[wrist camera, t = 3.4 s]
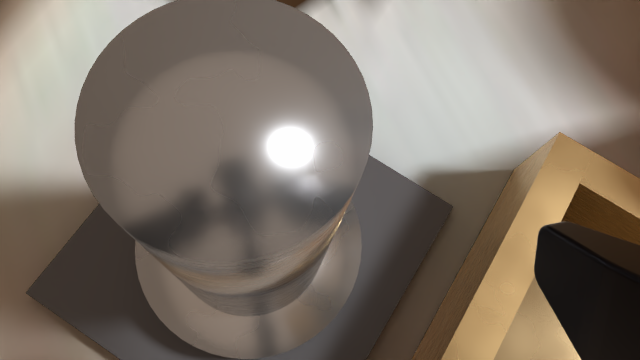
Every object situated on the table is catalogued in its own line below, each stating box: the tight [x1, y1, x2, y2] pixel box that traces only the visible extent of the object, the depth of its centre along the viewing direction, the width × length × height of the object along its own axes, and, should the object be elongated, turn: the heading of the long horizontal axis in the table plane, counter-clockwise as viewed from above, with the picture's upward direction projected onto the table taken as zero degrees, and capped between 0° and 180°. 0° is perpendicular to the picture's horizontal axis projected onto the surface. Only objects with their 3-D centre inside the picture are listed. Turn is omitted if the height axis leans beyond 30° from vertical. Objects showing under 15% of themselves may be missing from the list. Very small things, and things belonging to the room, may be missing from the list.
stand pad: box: [26, 155, 453, 360], centre depth 18 cm, size 10×10×1 cm
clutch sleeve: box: [75, 0, 373, 359], centre depth 13 cm, size 7×7×10 cm
